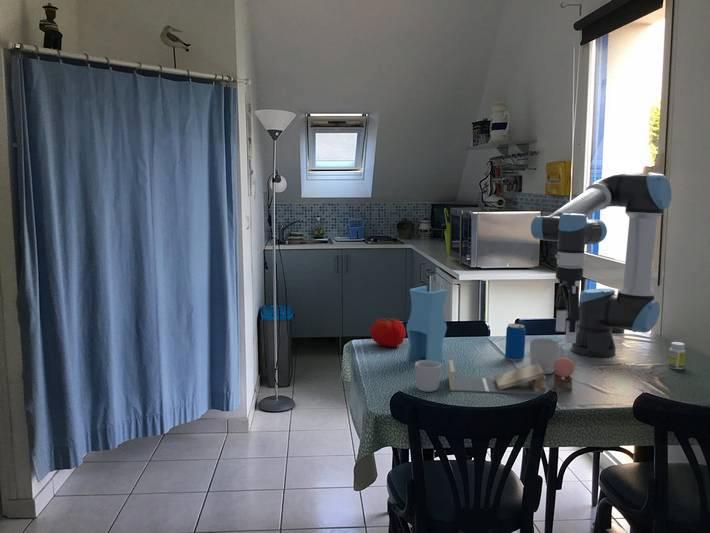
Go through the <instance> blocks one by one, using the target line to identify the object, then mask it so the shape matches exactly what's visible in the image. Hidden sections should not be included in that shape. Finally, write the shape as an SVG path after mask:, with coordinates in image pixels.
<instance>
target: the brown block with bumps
mask: <svg viewBox="0 0 710 533" xmlns="http://www.w3.org/2000/svg"><path fill="white" fill-rule="evenodd" d="M553 388H554V389H555V391H556V392H564V391H573V377H572V376H571V375H570V376H568V377H561V376H558V375H557V374H556V373H555V372H554V376H553Z"/></svg>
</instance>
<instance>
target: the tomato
mask: <svg viewBox="0 0 710 533" xmlns="http://www.w3.org/2000/svg"><path fill="white" fill-rule="evenodd" d="M406 334H407V330H406V328H405V325H404V324H403V322H402V321H400V320H398V319H396V318H390V317H387V318H379V319H377V320H376V321H375V322H374V323H373V324H372V326H371V328H370V337H371V339H372V340H373V341H374V342H375V343H376V344H378V345H380V346H383V347H391V348H394V347H398V346H399V345H401V344H403V342H404V340H405V338H406Z"/></svg>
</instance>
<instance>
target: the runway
mask: <svg viewBox="0 0 710 533" xmlns="http://www.w3.org/2000/svg"><path fill="white" fill-rule="evenodd" d="M455 372H456V371H455V365H454V360H453V359H448V376H447V378H448V385H449V386H448V387H449V391H450V392H465V393H466V392H467V393H469V392H470V393H486V394H487V393H488V394H489V393H491V394H516V395H518V394H519V395H538V396H541V394H544V393H545V392H547V391H549V390H551V388H550V387H549V385H548V383H547V382H546V386H545V392H535V391H534V389H533V387H532V385H531V383H530V381H528V382H524V383H521V384H518V385H514V386H511V387H507V388H504V389H501V390H499V388H498V385H497V382H496V379H495V378H489V377H488V378H486V377H462V376H461V377H460V376H459V377H457V376H456V375H455V374H456V373H455Z"/></svg>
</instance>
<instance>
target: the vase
mask: <svg viewBox="0 0 710 533" xmlns="http://www.w3.org/2000/svg"><path fill="white" fill-rule="evenodd" d="M427 289H428V286H427V285H423V286H418V287H414V288H413V287H412V288H409V293H410V300H411V308H410V309H411V310H410V315H409V318H408V321H407V323H406V328H405V330H406V334H407V338H408V351H407V355H406V359H405V361H406V362H410V361H413V360H416V359H418V358H425V360H432V361H437V362H439V363H443V362H444V353H443V345H444V339H445V336H446V333H447V330H448V326H447V323H446V319H445V315H444V303H445V300H446V299H445V298H446V296H447V293H448V289H445V288H444V289H440V290H437V291H427Z"/></svg>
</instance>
